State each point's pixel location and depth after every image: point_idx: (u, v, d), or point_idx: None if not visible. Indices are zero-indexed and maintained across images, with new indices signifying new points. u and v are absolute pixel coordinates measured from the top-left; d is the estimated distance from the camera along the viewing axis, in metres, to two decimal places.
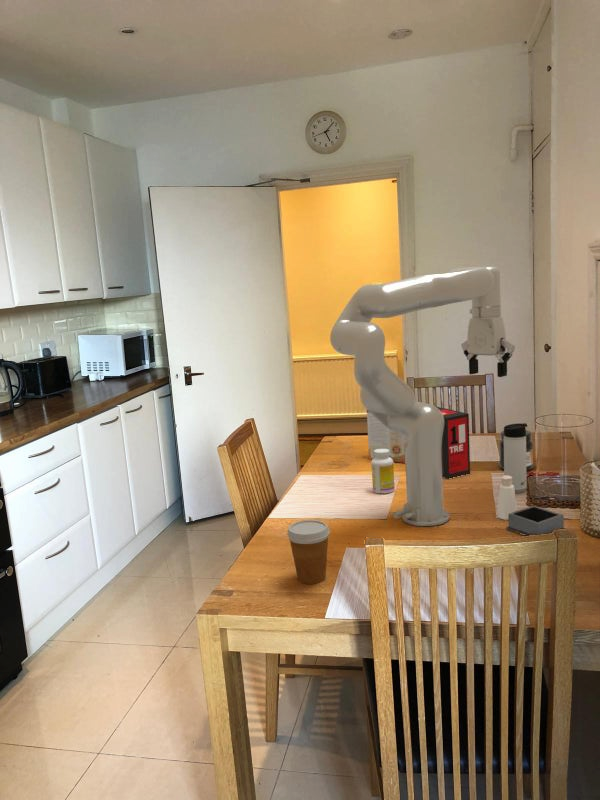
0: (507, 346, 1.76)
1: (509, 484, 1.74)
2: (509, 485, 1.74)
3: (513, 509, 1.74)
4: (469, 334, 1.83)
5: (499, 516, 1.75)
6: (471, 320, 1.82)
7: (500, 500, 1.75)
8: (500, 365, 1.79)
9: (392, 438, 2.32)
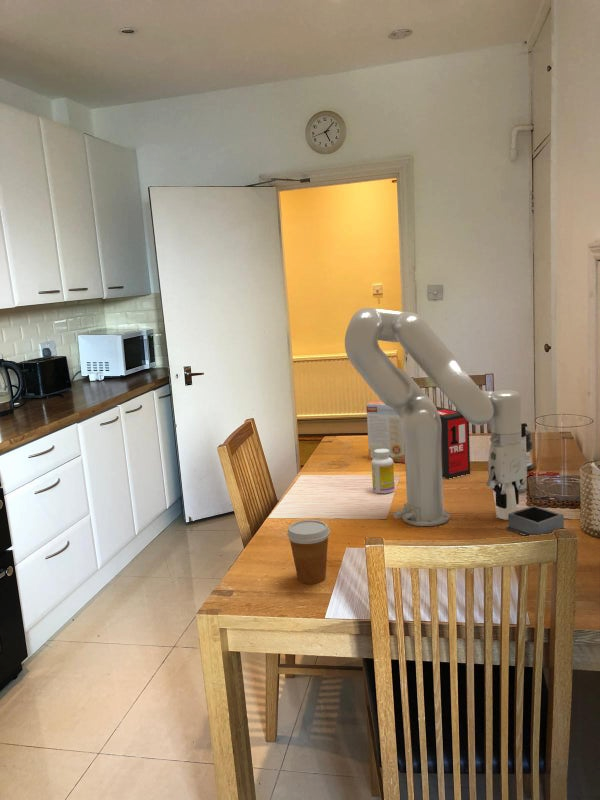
0: None
1: (509, 484, 1.74)
2: (509, 485, 1.74)
3: (513, 509, 1.74)
4: (504, 463, 1.70)
5: (499, 516, 1.75)
6: (505, 448, 1.69)
7: None
8: None
9: (392, 438, 2.32)
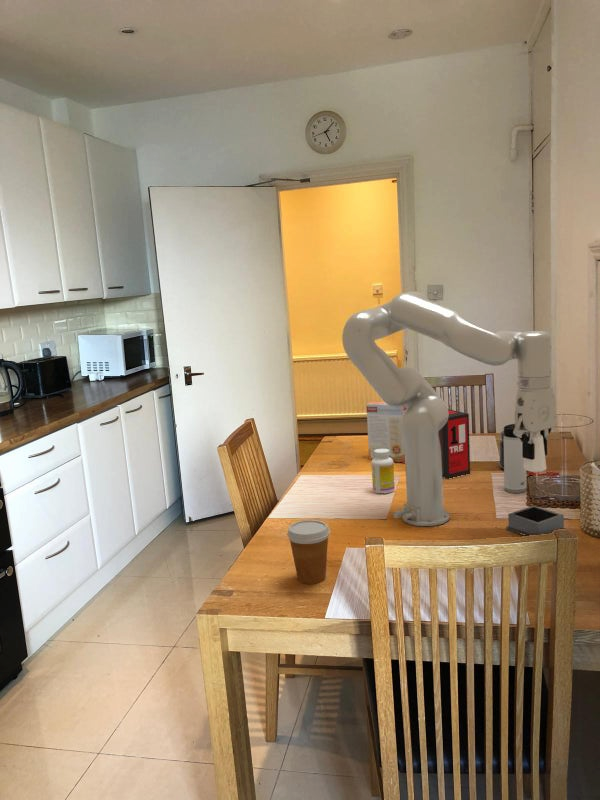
0: None
1: (537, 433, 1.61)
2: (537, 434, 1.61)
3: (541, 460, 1.61)
4: (532, 410, 1.57)
5: (526, 468, 1.62)
6: (533, 393, 1.56)
7: None
8: None
9: (392, 438, 2.32)
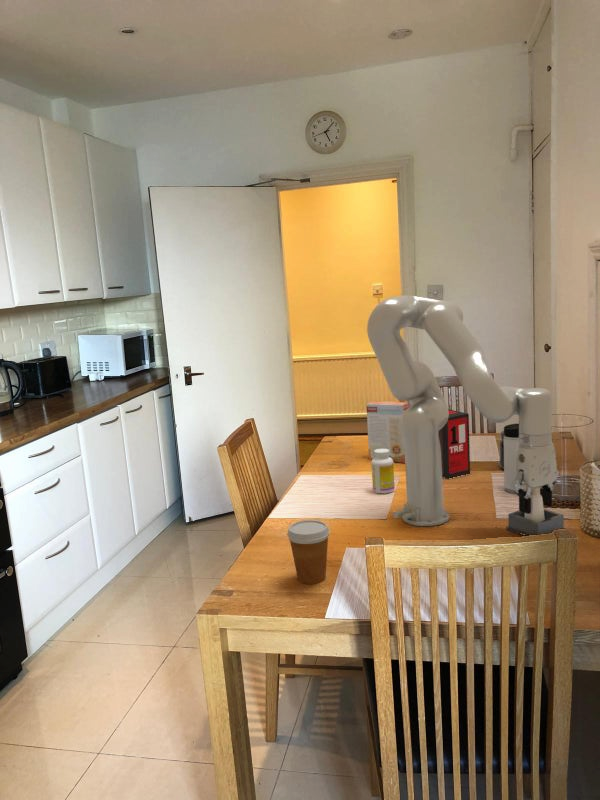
0: None
1: (537, 494, 1.63)
2: (537, 495, 1.63)
3: (540, 520, 1.63)
4: (533, 466, 1.59)
5: None
6: (534, 450, 1.59)
7: None
8: None
9: (392, 438, 2.32)
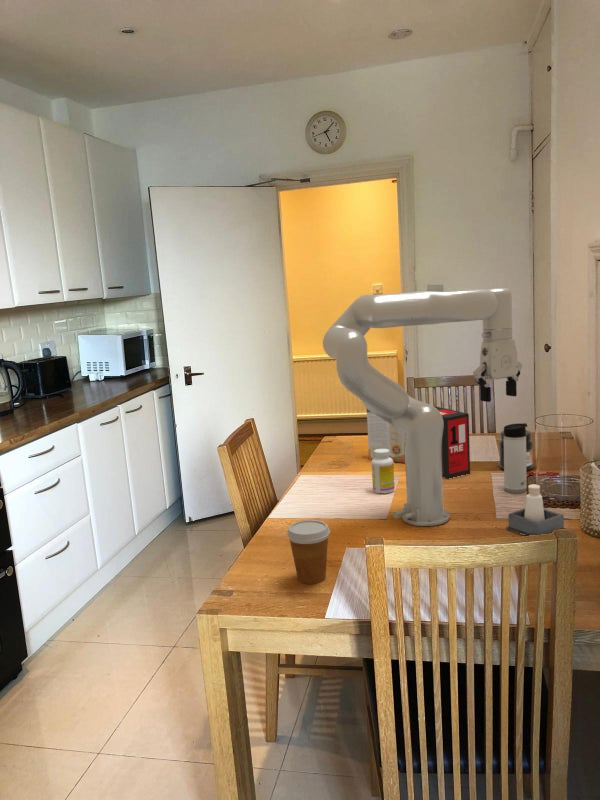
0: (518, 364, 1.81)
1: (537, 494, 1.63)
2: (537, 495, 1.63)
3: (540, 520, 1.63)
4: (495, 358, 1.73)
5: None
6: (496, 343, 1.73)
7: (527, 510, 1.64)
8: None
9: (392, 438, 2.32)
